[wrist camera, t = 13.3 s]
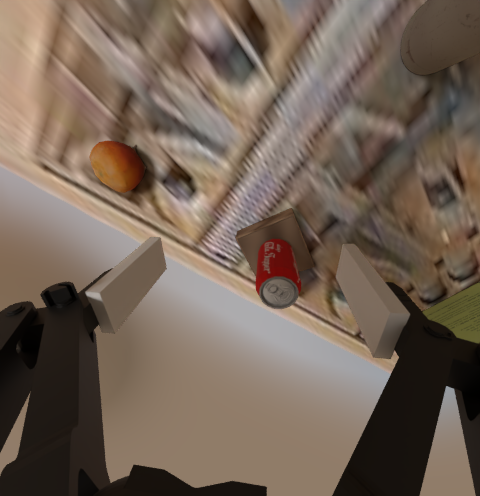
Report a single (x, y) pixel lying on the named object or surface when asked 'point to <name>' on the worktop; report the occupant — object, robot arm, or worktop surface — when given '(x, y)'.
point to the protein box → (459, 313)
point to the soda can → (277, 274)
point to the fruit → (117, 165)
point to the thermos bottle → (441, 35)
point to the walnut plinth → (275, 228)
